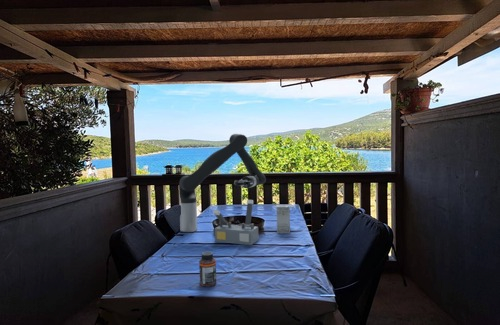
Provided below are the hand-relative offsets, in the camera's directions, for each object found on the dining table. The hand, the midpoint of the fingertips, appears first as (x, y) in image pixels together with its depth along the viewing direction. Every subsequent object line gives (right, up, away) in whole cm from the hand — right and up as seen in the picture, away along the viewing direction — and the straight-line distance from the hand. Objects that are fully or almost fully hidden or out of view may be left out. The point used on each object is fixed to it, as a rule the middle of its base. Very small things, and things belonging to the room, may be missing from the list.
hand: (237, 184), depth 185 cm
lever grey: (+6, -20, -20) cm, 29 cm away
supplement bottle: (-8, -31, -71) cm, 78 cm away
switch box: (0, -29, -17) cm, 33 cm away
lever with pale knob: (-6, -20, -15) cm, 26 cm away
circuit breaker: (+27, -28, +3) cm, 39 cm away
